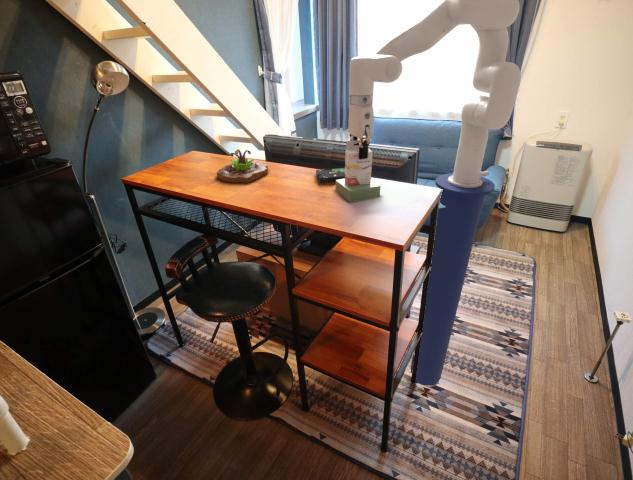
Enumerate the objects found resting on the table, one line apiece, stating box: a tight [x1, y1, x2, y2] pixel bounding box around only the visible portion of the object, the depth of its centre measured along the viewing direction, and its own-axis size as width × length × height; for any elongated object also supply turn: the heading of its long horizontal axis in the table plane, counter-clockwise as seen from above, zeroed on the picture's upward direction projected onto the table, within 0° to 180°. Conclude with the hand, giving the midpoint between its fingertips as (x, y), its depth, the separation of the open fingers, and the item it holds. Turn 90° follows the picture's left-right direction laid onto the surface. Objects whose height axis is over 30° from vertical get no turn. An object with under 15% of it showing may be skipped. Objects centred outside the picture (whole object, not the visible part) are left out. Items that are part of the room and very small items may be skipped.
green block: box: [335, 179, 382, 203], centre depth 125 cm, size 12×12×4 cm
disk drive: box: [315, 167, 345, 185], centre depth 139 cm, size 10×3×15 cm
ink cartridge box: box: [344, 139, 373, 186], centre depth 120 cm, size 9×5×15 cm, turn 100°
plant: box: [216, 149, 269, 184], centre depth 143 cm, size 20×20×11 cm
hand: (358, 155), depth 119 cm, fingers closed on ink cartridge box, 5 cm apart
